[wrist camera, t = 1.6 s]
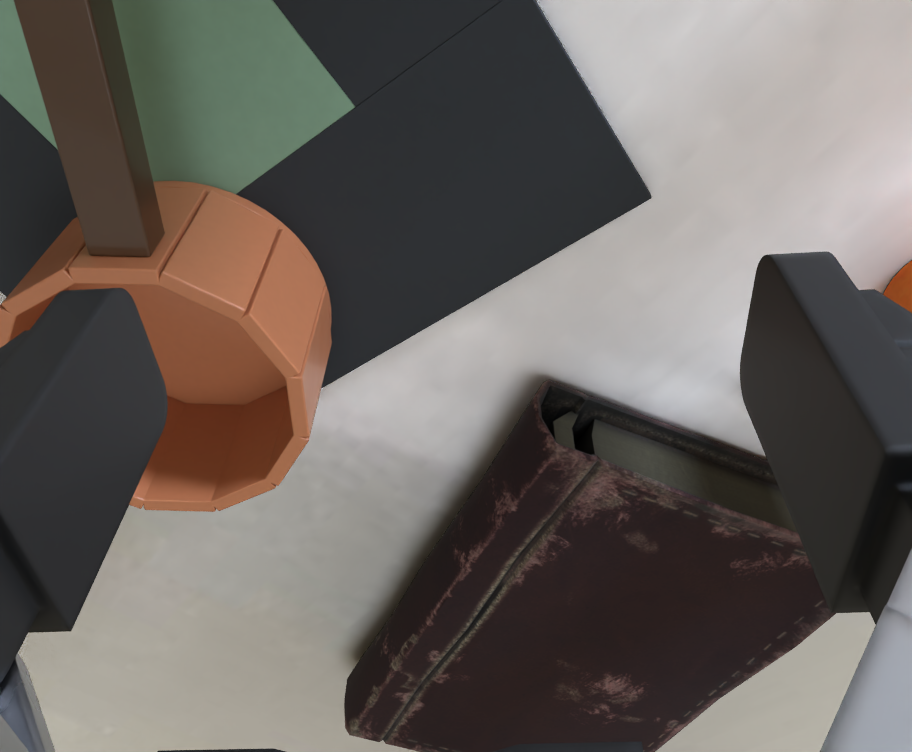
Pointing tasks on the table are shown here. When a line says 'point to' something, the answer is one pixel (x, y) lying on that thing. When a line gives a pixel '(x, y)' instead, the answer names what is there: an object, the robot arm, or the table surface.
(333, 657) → the table surface
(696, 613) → the diary
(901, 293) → the paper cup
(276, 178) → the placemat
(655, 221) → the table surface
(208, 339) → the saucepan
